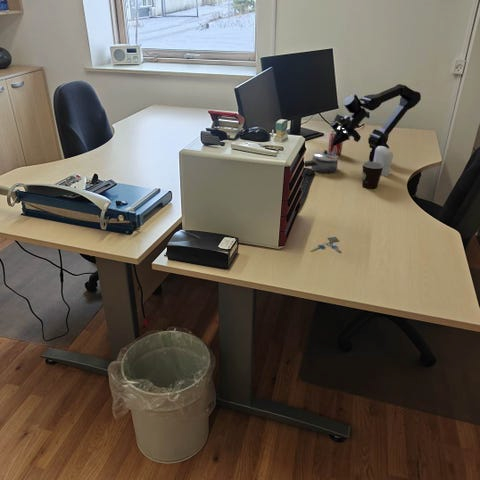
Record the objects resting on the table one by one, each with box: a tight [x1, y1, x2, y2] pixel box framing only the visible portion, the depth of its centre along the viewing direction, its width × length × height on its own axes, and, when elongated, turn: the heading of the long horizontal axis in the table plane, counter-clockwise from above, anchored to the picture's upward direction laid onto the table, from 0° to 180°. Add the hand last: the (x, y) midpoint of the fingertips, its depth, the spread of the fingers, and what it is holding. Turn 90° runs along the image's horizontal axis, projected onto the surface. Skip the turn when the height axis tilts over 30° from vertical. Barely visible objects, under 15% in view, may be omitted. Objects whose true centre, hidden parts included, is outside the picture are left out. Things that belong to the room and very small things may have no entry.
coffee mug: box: [361, 161, 383, 190], centre depth 193 cm, size 12×9×10 cm
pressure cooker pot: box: [304, 156, 339, 175], centre depth 211 cm, size 18×12×5 cm, turn 113°
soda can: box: [327, 130, 344, 157], centre depth 229 cm, size 7×7×12 cm
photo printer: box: [373, 146, 394, 177], centre depth 207 cm, size 10×4×12 cm, turn 17°
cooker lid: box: [312, 149, 340, 162], centre depth 210 cm, size 12×12×2 cm
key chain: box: [310, 236, 342, 253], centre depth 148 cm, size 14×8×1 cm, turn 141°
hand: (332, 145), depth 208 cm, fingers closed
